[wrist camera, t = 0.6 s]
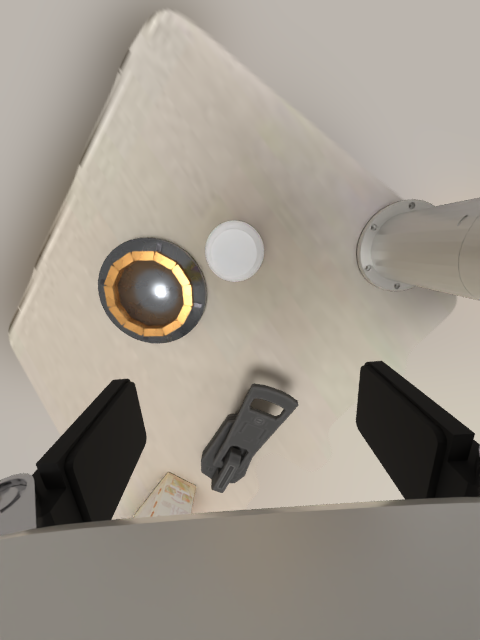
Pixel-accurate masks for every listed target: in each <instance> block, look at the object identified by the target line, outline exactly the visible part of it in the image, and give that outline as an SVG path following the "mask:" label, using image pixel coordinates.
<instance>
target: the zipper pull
mask: <svg viewBox="0 0 480 640" xmlns="http://www.w3.org/2000/svg"><path fill="white" fill-rule="evenodd" d="M255 398H258V399H264V400H266V401H269V402H271V403H274V404H276V405H279V406H281V407H282V408H284V410H283V411H282V412H281V414H280V415H278V416H274V415H271V414H268V413H265V412H263V411H260V410H258V409H255V408H253V407H250V404H251V403H252V401H253V400H254V399H255ZM297 406H298V401H297V400H296V399H294V398H293V397H291V396H290V395H288V394H286V393H284V392H282V391H280V390H278V389H275V388H272V387H269V386H266V385H260V384H252V386H251V388H250V390H249V392H248V394H247V396H246V398H245V400H244V402H243V405H242V407H241V409H240V411H239V413H238V414H231V415H228V416H227V418H226V419H225V421H224V422H223V424H222V425H221V426H220V428H219V429H218V431H217V432H216V434H215V435H214V437H213V438H212V440H211V441H210V443H209V444H208V445H207V447H206V448H205V449H204V451H203V454H202V459H201V471H202V473H203V474H205V475H206V476H208V477H209V478H211V479H212V485H211V488H212V490H214V491H217V492H220V493H223V492H224V490H225V489H226V487H227V485H228V484H229V483H235V482H237V481H238V480H240V479H241V478H242V477H244V476H245V474H246V471H247V469H248V466H249V464H250V462H251V459H252V457H253V456H254V455H255V453H256V452H257V451H258V450H259V449H260V448H261V447H262V445H263V444H264V443H265V442H266V441H267V440H268V439H269V438H270V436H271V435H272V434H273V433H274V432H275V431H276V430H277V429H278V427H279V426H280V425H281V424H282V423H283V422H284V421H285V420H286V419H287V418H288V417H289V415H290V414H291V413H292V412H293V411H294V410H295V409H296V407H297Z"/></svg>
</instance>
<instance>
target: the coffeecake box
mask: <svg viewBox="0 0 480 640" xmlns="http://www.w3.org/2000/svg"><path fill="white" fill-rule="evenodd" d="M195 489H196V486H195V485H194V484H192V483H190V482H188V481H185V480H183V479H181V478H179V477H177V476H175V475H173V474H171V473H169V472H168V473H167V474H166V476H165V477H164V478H163V479H162V481H161V482H160V483H159V484H158V486H157V487H156V488H155V489H154V491H153V492H152V493H151V495H150V496H149V497H148V498H147V500H146V501H145V502H144V504H143V505H142V506H141V507H140V509H139V510H138V511H137V513H136V514H135V516H134V518H142V517H155V516H169V515H182V514H191V511H192V505H193V500H194V494H195Z"/></svg>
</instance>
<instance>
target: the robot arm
mask: <svg viewBox="0 0 480 640" xmlns="http://www.w3.org/2000/svg"><path fill="white" fill-rule="evenodd" d="M371 226H372V229H371ZM357 260H358V265H359V268H360V271H361V273H362V274H363V276H364V277H365V278H366V279H367V280H368V281H369V282H370V283H371V284H373V285H374V286H376V287H378V288H381V289H384V290H388V291H402V290H407V289H410V288H413V287H415V286H418V287H423V288H427V289H431V290H436V291H440V292H444V293H449V294H453V295H457V296H462V297H466V298H471V299H475V300H480V198H476V199H471V200H466V201H461V202H455V203H450V204H445V205H440V206H436V207H435V206H433V205H432V204H430V203H428V202H425V201H421V200H404V201H400V202H396V203H394V204H391V205H389V206H387V207H385V208H384V209H382V210H380V211H379V212H378V213H377V214H376V215H374V216H373V218H372V219H371V220H370V221H369V222H368V223H367V225H366V227H365V228H364V230H363V232H362V234H361V236H360V239H359V243H358V247H357ZM365 267H366V269H365ZM394 285H395V286H394ZM356 424H357V427H358V430H359V431H360V433H361V434H362V436H363V437H364V439H365V440H366V442H367V443H368V445H369V446H370V448H371V449H372V450H373V452H374V454H375V455H376V457H377V458H378V459H379V461H380V463H381V464H382V466H383V467H384V468H385V470H386V472H387V473H388V474H389V476H390V477H391V479H392V480H393V482H394V483H395V485H396V486H397V488H398V489H399V491H400V492H401V494H402V495H403V497H404V498H405V500H389V501H374V502H357V503H341V504H326V505H310V506H295V507H280V508H266V509H252V510H237V511H223V512H208V513H195V514H182V515H169V516H155V517H142V518H129V519H116V520H111V519H112V517H113V515H114V512H115V510H116V508H117V506H118V504H119V501H120V499H121V497H122V495H123V493H124V490H125V488H126V486H127V484H128V482H129V479H130V477H131V475H132V473H133V471H134V468H135V466H136V464H137V462H138V460H139V457H140V455H141V453H142V451H143V449H144V446H145V444H146V431H145V427H144V422H143V418H142V413H141V409H140V405H139V400H138V396H137V391H136V387H135V384H134V382H131V381H130V380H129V379H118V380H113V381H111V383H110V384H109V385H108V386H107V387H106V388H105V389H104V390H103V391H102V392H101V393H100V395H99V396H98V397H97V398H96V399H95V400H94V401H93V402H92V403H91V404H90V405H89V407H88V408H87V409H86V410H85V411H84V412H83V413H82V414H81V415H80V416H79V417H78V418H77V420H76V421H75V422H74V423H73V424H72V425H71V426H70V427H69V428H68V429H67V430H66V432H65V433H64V434H63V435H62V436H61V437H60V438H59V439H58V440H57V441H56V442H55V444H54V445H53V446H52V447H51V448H50V449H49V450H48V451H47V452H46V454H44V456H43V457H42V458H41V459H40V460H39V461H38V462H37V463H36V466H37V468H38V469H37V470H36V471H35V472H34V474H33V475H29V474H16V475H12V476H10V477H7V478H4V479H2V480H0V640H480V444H478V443H477V442H476V441H475V440H473V439H474V435H475V433H474V432H472V431H471V430H470V429H469V428H467V427H466V426H465V425H463V424H462V423H461V422H460V421H458V420H457V419H456V418H455V417H453V416H452V415H451V414H449V413H448V412H447V411H445V410H444V409H443V408H442V407H440V406H439V405H438V404H436V403H435V402H434V401H433V400H431V399H430V398H429V397H427V396H426V395H425V394H424V393H422V392H421V391H420V390H419V389H417V388H416V387H415V386H414V385H412V384H411V383H410V382H408V381H407V380H406V379H404V378H403V377H402V376H401V375H399V374H398V373H397V372H396V371H394V370H393V369H392V368H390V367H389V366H388V365H387V364H385V363H384V362H382V361H374V362H366V363H365V365H364V366H362V367H361V370H360V381H359V392H358V404H357V415H356Z"/></svg>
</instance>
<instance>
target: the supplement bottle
mask: <svg viewBox="0 0 480 640" xmlns="http://www.w3.org/2000/svg"><path fill="white" fill-rule="evenodd" d="M205 256H206V260H207V263H208V265H209V267H210V269H211V270H212V271H213V272H214V273H215V274H216V275H217V276H218V277H220V278H222V279H224V280H226V281H231V282H239V281H243V280H246V279H248V278H250V277H251V276H253V275H254V274H255V273H256V272H257V271H258V269H259V268H260V266H261V264H262V261H263V258H264V245H263V241H262V239H261V237H260V235H259V233H258V232H257V231H256V230H255V229H254V228H253V227H252V226H251V225H249V224H247V223H245V222H242V221H237V220H233V221H227V222H224V223H222V224H220V225H218V226H217V227H216V228H215V229H214V230H213V231H212V232H211V233H210V235H209V237H208V239H207V242H206V246H205Z"/></svg>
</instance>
